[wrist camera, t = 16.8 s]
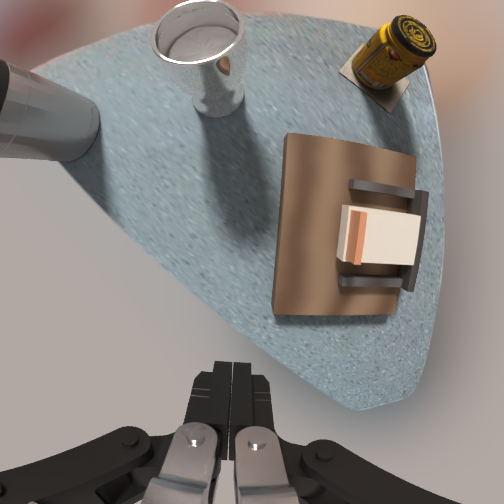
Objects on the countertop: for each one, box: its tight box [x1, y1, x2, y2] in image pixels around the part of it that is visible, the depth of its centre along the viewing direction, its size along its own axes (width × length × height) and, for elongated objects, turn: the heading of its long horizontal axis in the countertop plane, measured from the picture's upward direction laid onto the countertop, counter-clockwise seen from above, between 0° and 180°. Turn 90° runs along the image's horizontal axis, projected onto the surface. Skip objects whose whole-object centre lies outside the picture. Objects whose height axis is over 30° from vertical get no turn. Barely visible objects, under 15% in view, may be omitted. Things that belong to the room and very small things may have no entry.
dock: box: [271, 133, 429, 315], centre depth 29 cm, size 16×20×6 cm
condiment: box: [339, 15, 436, 113], centre depth 21 cm, size 7×8×12 cm
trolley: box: [336, 205, 421, 265], centre depth 26 cm, size 9×6×6 cm, turn 86°
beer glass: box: [150, 0, 248, 118], centre depth 20 cm, size 7×7×15 cm
